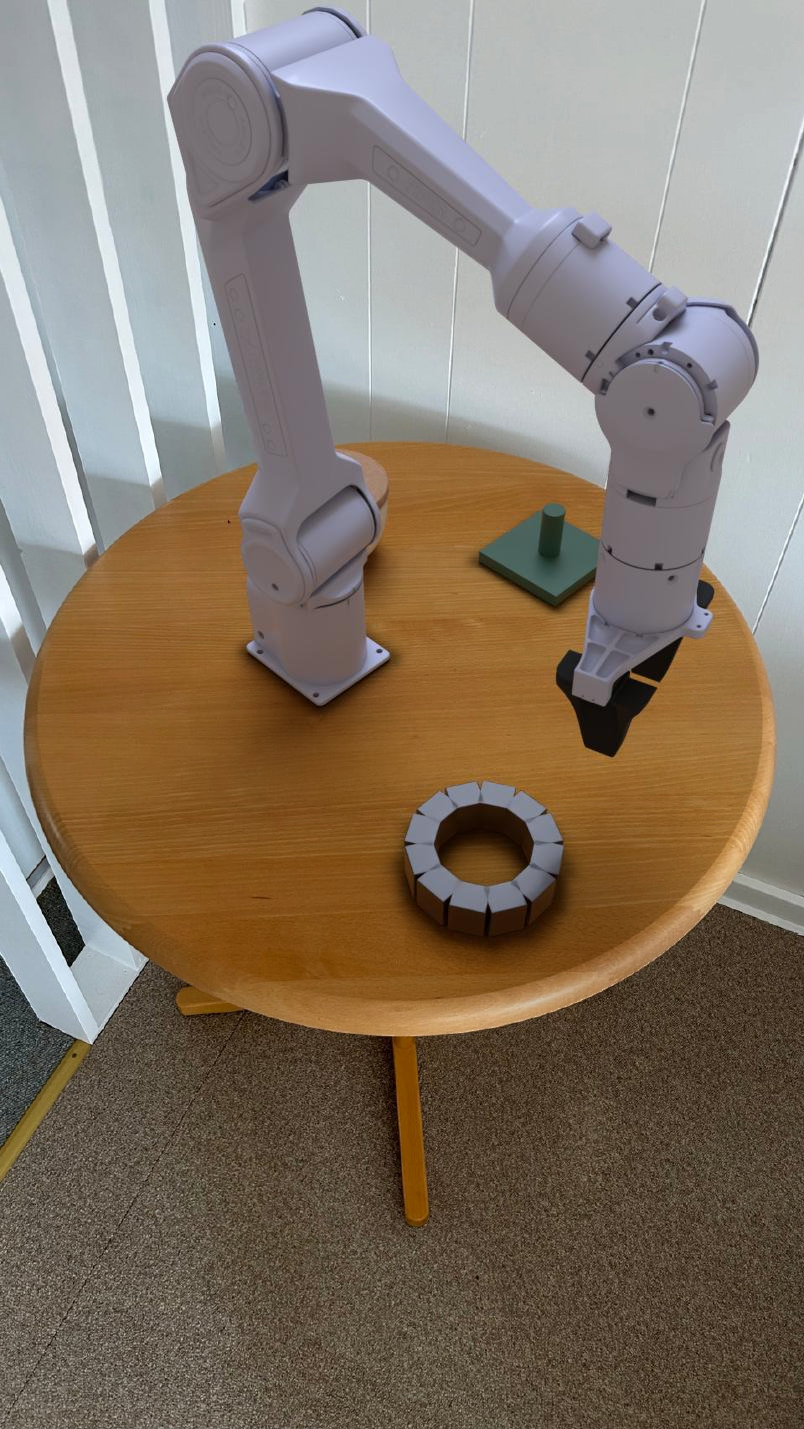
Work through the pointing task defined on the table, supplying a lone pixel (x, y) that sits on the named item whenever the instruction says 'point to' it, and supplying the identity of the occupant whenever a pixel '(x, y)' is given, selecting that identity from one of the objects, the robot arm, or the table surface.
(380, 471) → the trinket box
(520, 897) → the ring
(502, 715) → the table surface
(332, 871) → the table surface
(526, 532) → the peg stand
